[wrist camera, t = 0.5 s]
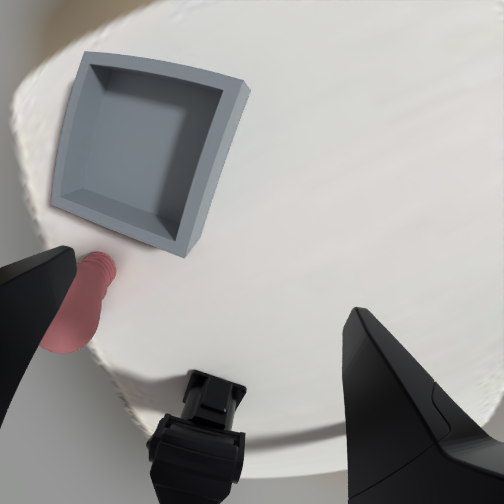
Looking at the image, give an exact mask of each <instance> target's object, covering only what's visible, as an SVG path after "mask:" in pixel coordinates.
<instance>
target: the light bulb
mask: <svg viewBox="0 0 504 504" xmlns="http://www.w3.org/2000/svg"><path fill="white" fill-rule="evenodd" d="M76 265H77V274H76V277H75V279H74V281H73V283H72V285H71V286H70V288H69V290H68V292H67V294H66V296H65V299H64V301H63V303H62V305H61V307H60V309H59V311H58V312H57V314H56V316H55V318H54V319H53V321H52V323H51V324H50V326H49V328H48V330H47V331H46V333H45V335H44V337H43V339H42V340H41V342H40V344H39V346H40V347H42V348H43V349H46V350H48V351H50V352H55V353H71V352H74V351H77V350H79V349H81V348H82V347H84V346H85V345H86V344H87V343H88V342H89V341H90V340H91V339H92V337H93V336H94V334H95V332H96V330H97V327H98V324H99V319H100V313H101V303H102V299H103V298H104V297H105V295H106V293H107V287H108V286H109V285H110V284H111V282H112V280H114V278H115V276H116V267H115V264H114V262H113V261H112V259H111V258H110V257H109V256H107V255H106V254H104V253H102V252H94V253H92V254H91V255H89V256H88V257H86V258H85V259H84V260H82V261H81V262H80V263H78V264H76Z"/></svg>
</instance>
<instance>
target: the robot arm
mask: <svg viewBox="0 0 504 504" xmlns="http://www.w3.org/2000/svg"><path fill="white" fill-rule="evenodd" d="M76 274H77V265H76V258H75V252H74V250H73V248H71V247H68V246H59V247H56V248H53V249H51V250H48V251H45V252H42V253H39V254H36V255H33V256H31V257H28V258H25V259H22V260H20V261H17V262H14V263H12V264H9V265H6V266H4V267H1V268H0V428H1V425H2V423H3V420H4V417H5V415H6V413H7V409H8V408H9V405H10V403H11V401H12V398H13V396H14V394H15V392H16V390H17V387H18V385H19V383H20V381H21V379H22V377H23V375H24V373H25V371H26V369H27V367H28V365H29V363H30V361H31V359H32V357H33V355H34V353H35V351H36V350H37V348H38V346H39V344H40V342H41V340H42V339H43V337H44V335H45V333H46V331H47V330H48V328H49V326H50V324H51V323H52V321H53V319H54V318H55V316H56V314H57V312H58V311H59V309H60V307H61V305H62V303H63V301H64V299H65V296H66V294H67V292H68V290H69V288H70V286H71V285H72V283H73V281H74V279H75V277H76ZM195 374H196V375H195ZM342 380H343V392H344V405H345V419H346V436H347V459H348V498H349V500H348V504H504V443H503V442H500V441H497V440H495V439H493V438H492V437H490V436H489V435H488V434H487V433H486V432H485V431H484V430H483V429H482V428H481V427H480V426H479V425H478V424H477V423H476V422H475V421H474V420H473V419H471V418H470V417H469V416H468V415H467V414H466V413H465V412H464V411H463V410H462V409H461V408H460V407H459V406H458V405H457V404H456V403H455V402H454V401H453V400H452V399H451V398H450V397H449V396H448V394H447V393H446V392H445V391H444V390H443V389H442V388H441V387H440V386H439V385H438V383H437V382H434V379H433V378H432V377H431V376H430V375H429V374H428V373H427V371H426V370H425V369H424V368H423V367H422V366H421V365H420V364H419V363H418V362H417V361H416V360H415V358H414V357H413V356H412V355H411V354H410V353H409V352H408V351H407V350H406V349H405V348H404V347H403V346H402V345H401V344H400V342H399V341H398V340H397V339H396V338H395V337H394V336H393V335H392V334H391V333H390V332H389V331H388V330H387V329H386V328H385V327H384V326H383V325H382V324H381V323H380V322H379V321H378V320H377V319H376V318H375V316H374V315H373V314H372V313H371V312H370V311H369V310H368V309H366V308H360V307H354V308H353V309H352V311H351V313H350V315H349V317H348V319H347V321H346V323H345V325H344V328H343V347H342ZM246 391H247V388H246V387H244V386H241V385H238V384H235V383H232V382H229V381H226V380H223V379H220V378H217V377H214V376H211V375H208V374H205V373H202V372H199V371H193V372H192V375H191V378H190V381H189V384H188V386H187V389H186V392H185V395H184V398H183V403H185V406H184V409H183V412H182V414H181V417H180V418H178V417H175V416H172V415H171V414H168V413H166V414H165V416H164V418H162V419H161V420H160V421H159V424H158V426H157V429H156V431H155V432H154V434H153V435H152V436H151V437H150V439H149V440H148V442H147V444H146V447H147V448H148V450H149V462H152V463H153V464H152V467H151V470H150V476H151V479H152V483H153V486H154V489H155V492H156V495H157V498H158V501H159V503H160V504H220V503H221V502H222V501H223V500H224V499H225V498H226V497H227V496H228V495H229V493H230V490H231V485H232V483H236V484H237V483H238V481H239V478H240V475H241V471H242V467H243V461H244V449H245V433H243V432H240V433H239V432H235V431H231V429H232V424H233V418H234V413H235V411H236V409H237V407H238V406H239V404H240V402H241V401H242V399H243V397H244V395H245V394H246Z"/></svg>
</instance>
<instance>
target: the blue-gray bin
mask: <svg viewBox="0 0 504 504" xmlns="http://www.w3.org/2000/svg"><path fill="white" fill-rule="evenodd" d="M250 91H251V90H250V89H249V87H248V86H247V84H246V83H245V81H244V80H240V79H237V78H234V77H230V76H226V75H223V74H219V73H215V72H211V71H207V70H203V69H199V68H195V67H190V66H186V65H181V64H176V63H171V62H166V61H160V60H154V59H148V58H142V57H135V56H128V55H120V54H111V53H101V52H88V51H85V52H84V54H83V57H82V60H81V63H80V66H79V69H78V72H77V75H76V78H75V82H74V85H73V88H72V92H71V95H70V99H69V103H68V107H67V111H66V115H65V119H64V123H63V128H62V133H61V137H60V142H59V148H58V153H57V159H56V165H55V172H54V179H53V187H52V196H51V205H53V206H55V207H58V208H60V209H63V210H65V211H67V212H70V213H72V214H74V215H77V216H79V217H82V218H84V219H86V220H89V221H91V222H94V223H96V224H99V225H101V226H104V227H106V228H108V229H111V230H113V231H116V232H118V233H121V234H123V235H126V236H128V237H131V238H133V239H136V240H138V241H141V242H143V243H146V244H149V245H151V246H154V247H156V248H159V249H161V250H164V251H167V252H169V253H172V254H174V255H177V256H180V257H182V258H185V257H186V256H187V255H188V253H189V252H190V251H191V249H192V248H193V247H194V245H195V244H196V243H197V241H198V240H199V239H200V237H201V233H202V230H203V227H204V224H205V220H206V217H207V214H208V211H209V208H210V205H211V202H212V199H213V196H214V192H215V189H216V186H217V183H218V180H219V177H220V174H221V172H222V169H223V166H224V163H225V160H226V157H227V154H228V151H229V148H230V146H231V143H232V140H233V137H234V134H235V132H236V129H237V126H238V123H239V121H240V118H241V115H242V113H243V110H244V107H245V105H246V102H247V99H248V97H249V94H250Z"/></svg>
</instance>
